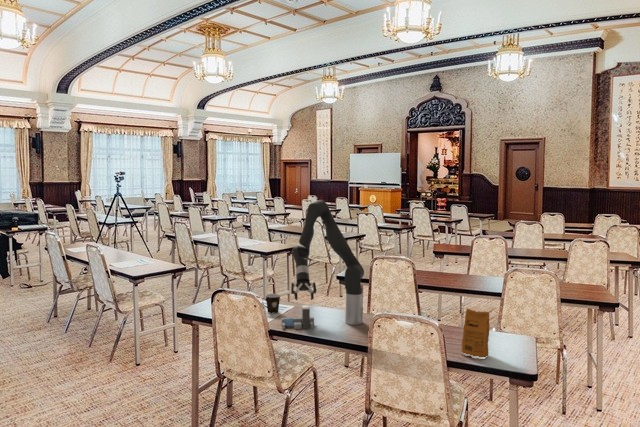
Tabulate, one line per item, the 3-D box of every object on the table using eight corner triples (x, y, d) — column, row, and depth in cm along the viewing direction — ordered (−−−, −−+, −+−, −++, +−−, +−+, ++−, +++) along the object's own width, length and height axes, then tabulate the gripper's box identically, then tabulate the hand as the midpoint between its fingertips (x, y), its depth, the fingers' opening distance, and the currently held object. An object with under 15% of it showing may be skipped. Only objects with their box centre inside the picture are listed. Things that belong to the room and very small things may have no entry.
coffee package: (465, 349, 237) (466, 305, 235) (491, 355, 230) (493, 309, 228) (458, 355, 229) (459, 310, 227) (484, 361, 222) (486, 315, 220)
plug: (308, 326, 269) (308, 305, 267) (309, 328, 265) (309, 307, 264) (302, 326, 268) (302, 305, 267) (302, 328, 264) (303, 307, 263)
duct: (313, 324, 273) (313, 316, 272) (315, 328, 266) (315, 320, 265) (281, 325, 270) (281, 317, 270) (282, 329, 263) (282, 321, 263)
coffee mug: (281, 309, 299) (281, 294, 298) (278, 314, 291) (278, 297, 290) (262, 309, 300) (262, 293, 299) (259, 313, 292) (259, 296, 291)
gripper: (290, 271, 280) (292, 296, 269) (315, 271, 282) (317, 295, 271) (290, 278, 285) (291, 303, 275) (314, 278, 287) (316, 302, 277)
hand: (304, 299), depth 273 cm, fingers open, 8 cm apart
